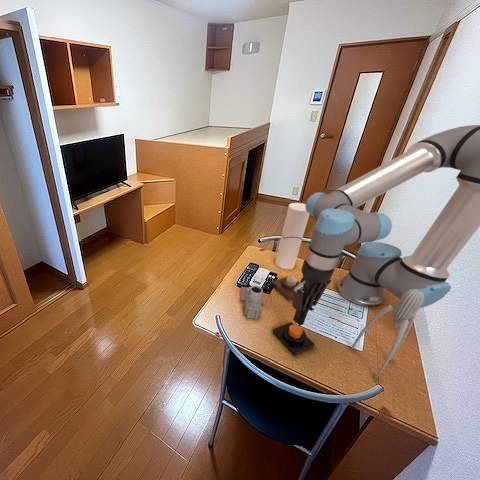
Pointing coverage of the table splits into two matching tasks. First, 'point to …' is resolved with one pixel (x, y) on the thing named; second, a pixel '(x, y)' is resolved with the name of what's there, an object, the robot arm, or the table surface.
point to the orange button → (295, 331)
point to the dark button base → (293, 340)
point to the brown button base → (284, 288)
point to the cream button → (291, 281)
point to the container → (292, 235)
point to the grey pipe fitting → (252, 300)
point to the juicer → (399, 319)
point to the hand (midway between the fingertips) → (298, 322)
